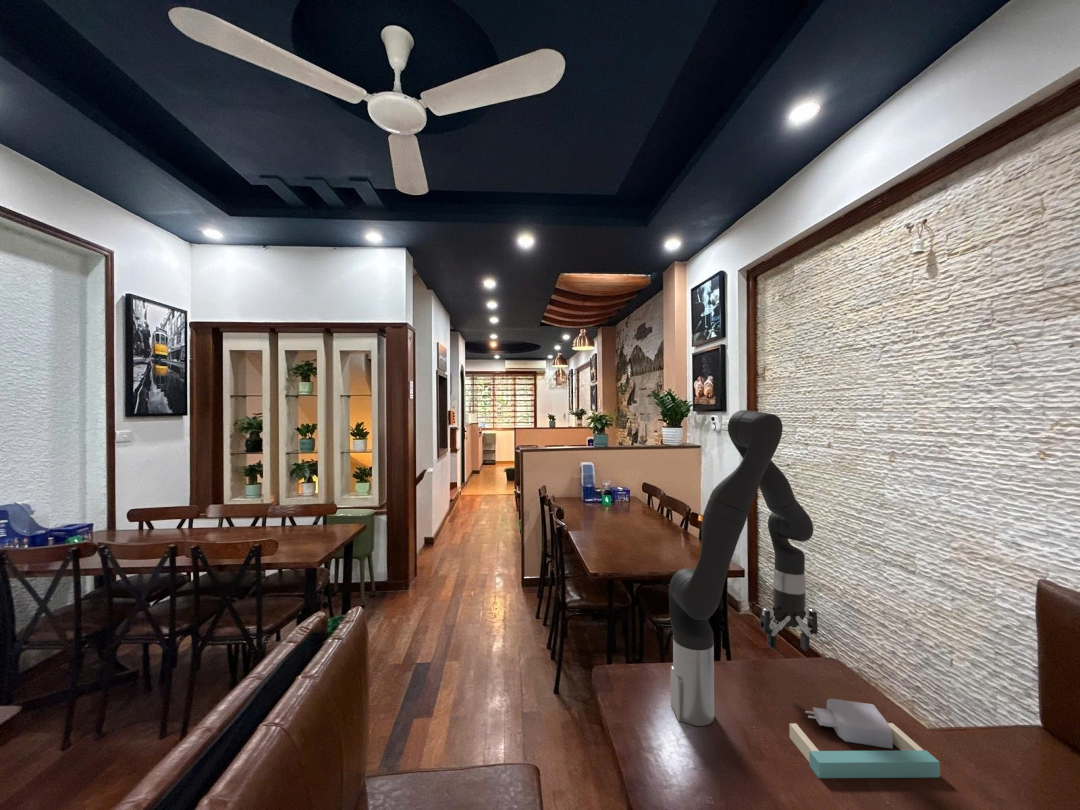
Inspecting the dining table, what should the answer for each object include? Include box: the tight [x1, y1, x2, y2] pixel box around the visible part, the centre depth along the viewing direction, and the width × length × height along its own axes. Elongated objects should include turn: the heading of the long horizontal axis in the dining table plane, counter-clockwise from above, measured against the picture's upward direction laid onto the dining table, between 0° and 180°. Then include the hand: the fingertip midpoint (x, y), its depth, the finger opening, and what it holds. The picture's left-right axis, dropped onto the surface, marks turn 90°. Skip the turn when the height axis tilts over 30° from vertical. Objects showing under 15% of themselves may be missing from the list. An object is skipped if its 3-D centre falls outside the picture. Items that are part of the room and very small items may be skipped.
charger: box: [804, 698, 894, 750], centre depth 101 cm, size 5×9×15 cm
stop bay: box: [788, 722, 941, 779], centre depth 93 cm, size 24×11×3 cm, turn 90°
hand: (788, 648), depth 118 cm, fingers open, 8 cm apart
